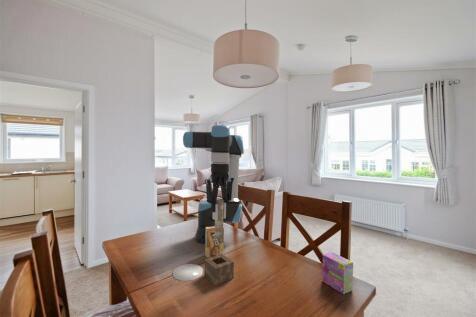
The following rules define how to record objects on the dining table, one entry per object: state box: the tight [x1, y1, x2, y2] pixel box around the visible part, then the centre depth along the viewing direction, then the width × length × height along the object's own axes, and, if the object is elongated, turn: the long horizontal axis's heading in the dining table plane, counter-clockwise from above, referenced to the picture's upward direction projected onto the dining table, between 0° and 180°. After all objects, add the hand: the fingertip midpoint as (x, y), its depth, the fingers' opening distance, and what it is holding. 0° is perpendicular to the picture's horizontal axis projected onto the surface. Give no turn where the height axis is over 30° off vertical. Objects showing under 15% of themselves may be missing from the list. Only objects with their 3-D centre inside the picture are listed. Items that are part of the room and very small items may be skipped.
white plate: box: [172, 263, 204, 282], centre depth 99 cm, size 13×13×1 cm
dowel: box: [215, 198, 224, 239], centre depth 95 cm, size 4×4×16 cm
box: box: [321, 251, 354, 295], centre depth 93 cm, size 10×6×12 cm, turn 29°
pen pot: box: [203, 253, 235, 287], centre depth 96 cm, size 9×9×8 cm
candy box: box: [204, 226, 225, 258], centre depth 115 cm, size 9×4×15 cm, turn 110°
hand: (219, 218), depth 95 cm, fingers closed on dowel, 3 cm apart
